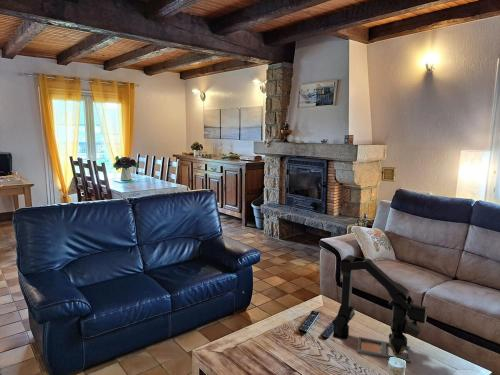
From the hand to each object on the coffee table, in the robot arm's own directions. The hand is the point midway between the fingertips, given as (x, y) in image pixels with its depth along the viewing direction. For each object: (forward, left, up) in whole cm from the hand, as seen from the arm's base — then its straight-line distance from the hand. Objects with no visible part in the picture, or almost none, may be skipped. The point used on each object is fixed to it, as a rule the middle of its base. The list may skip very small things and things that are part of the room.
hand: (397, 348), depth 156 cm
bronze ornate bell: (0, 0, -2) cm, 2 cm away
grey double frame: (-6, 0, -2) cm, 6 cm away
